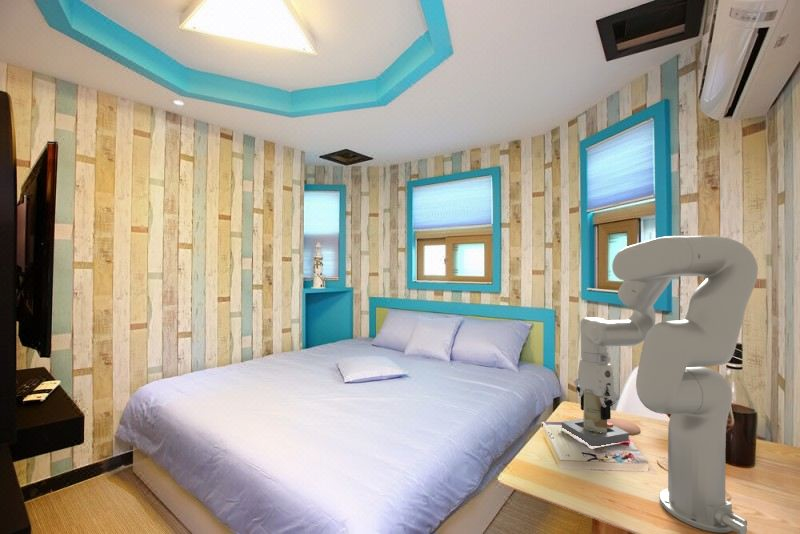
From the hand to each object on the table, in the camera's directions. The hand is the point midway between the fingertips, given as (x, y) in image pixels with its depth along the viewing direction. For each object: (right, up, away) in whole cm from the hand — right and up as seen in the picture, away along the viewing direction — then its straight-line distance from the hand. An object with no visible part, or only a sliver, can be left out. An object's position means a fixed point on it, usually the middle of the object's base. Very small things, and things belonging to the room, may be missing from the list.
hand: (595, 413), depth 108 cm
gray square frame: (0, -7, +1) cm, 7 cm away
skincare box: (0, -5, 0) cm, 5 cm away
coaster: (+13, -7, +7) cm, 16 cm away
